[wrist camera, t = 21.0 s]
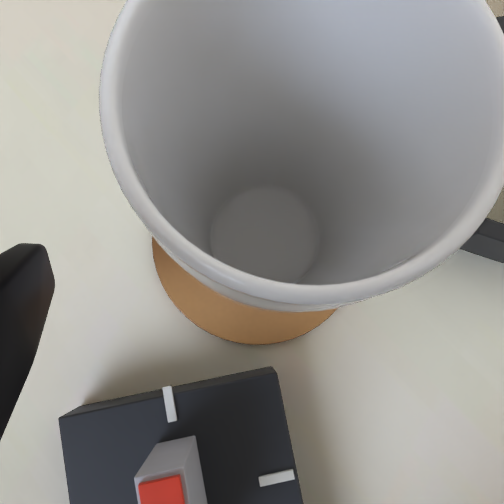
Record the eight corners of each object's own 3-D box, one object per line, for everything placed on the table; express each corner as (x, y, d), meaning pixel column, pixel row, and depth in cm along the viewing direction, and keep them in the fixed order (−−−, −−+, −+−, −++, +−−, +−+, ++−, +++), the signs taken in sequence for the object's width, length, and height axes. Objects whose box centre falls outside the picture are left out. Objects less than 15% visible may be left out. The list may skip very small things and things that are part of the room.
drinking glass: (264, 347, 21) (324, 412, 6) (160, 245, 22) (-5, 88, 7) (363, 243, 22) (617, 87, 7) (260, 147, 23) (303, -180, 8)
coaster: (381, 321, 22) (384, 321, 22) (172, 364, 21) (171, 364, 21) (335, 124, 23) (336, 120, 23) (137, 159, 23) (136, 156, 22)
